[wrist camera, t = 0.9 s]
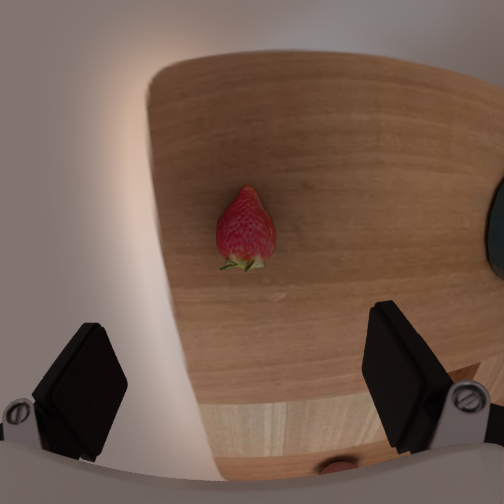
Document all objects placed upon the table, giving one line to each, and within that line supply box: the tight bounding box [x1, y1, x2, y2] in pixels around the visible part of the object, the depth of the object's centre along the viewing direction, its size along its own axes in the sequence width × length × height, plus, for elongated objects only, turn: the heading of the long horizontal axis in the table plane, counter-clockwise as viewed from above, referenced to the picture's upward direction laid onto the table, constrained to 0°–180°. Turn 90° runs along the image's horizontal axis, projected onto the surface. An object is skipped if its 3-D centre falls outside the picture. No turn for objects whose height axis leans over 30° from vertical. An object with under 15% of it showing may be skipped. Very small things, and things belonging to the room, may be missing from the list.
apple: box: [320, 461, 359, 475], centre depth 33 cm, size 8×8×8 cm
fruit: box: [216, 185, 276, 272], centre depth 20 cm, size 4×6×5 cm
